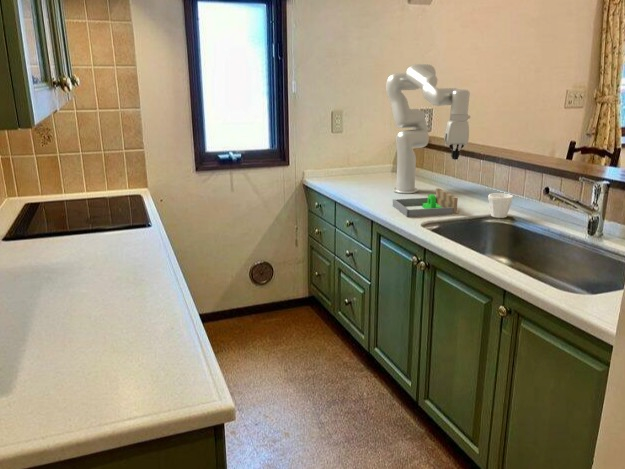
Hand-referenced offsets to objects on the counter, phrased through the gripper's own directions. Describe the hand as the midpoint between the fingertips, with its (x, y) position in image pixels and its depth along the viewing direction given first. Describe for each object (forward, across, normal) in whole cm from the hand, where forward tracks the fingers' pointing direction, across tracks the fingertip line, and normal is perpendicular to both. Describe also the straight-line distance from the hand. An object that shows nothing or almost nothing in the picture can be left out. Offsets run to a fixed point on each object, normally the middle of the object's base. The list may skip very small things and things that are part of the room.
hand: (454, 159), depth 241 cm
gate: (+21, +6, +8) cm, 23 cm away
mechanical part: (+22, +12, +9) cm, 26 cm away
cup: (+20, -11, +26) cm, 35 cm away
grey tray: (+21, +16, +8) cm, 28 cm away
